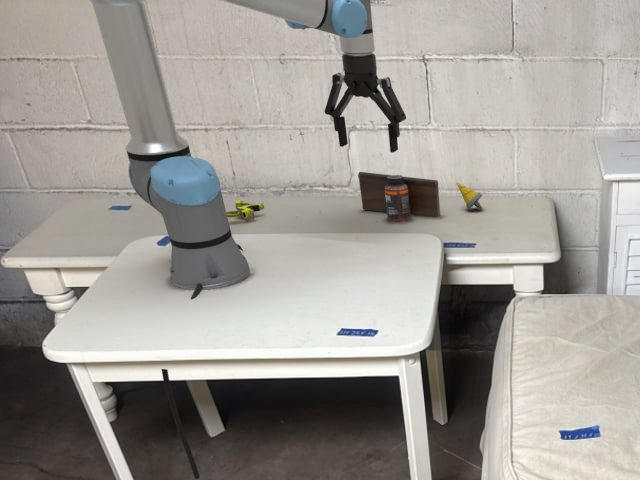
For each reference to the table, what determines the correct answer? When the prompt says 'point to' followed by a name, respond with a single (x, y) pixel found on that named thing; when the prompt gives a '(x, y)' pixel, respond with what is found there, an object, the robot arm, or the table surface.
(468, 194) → the yellow spinning top
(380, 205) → the wooden wall
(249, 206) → the yellow black clamp
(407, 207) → the supplement bottle
